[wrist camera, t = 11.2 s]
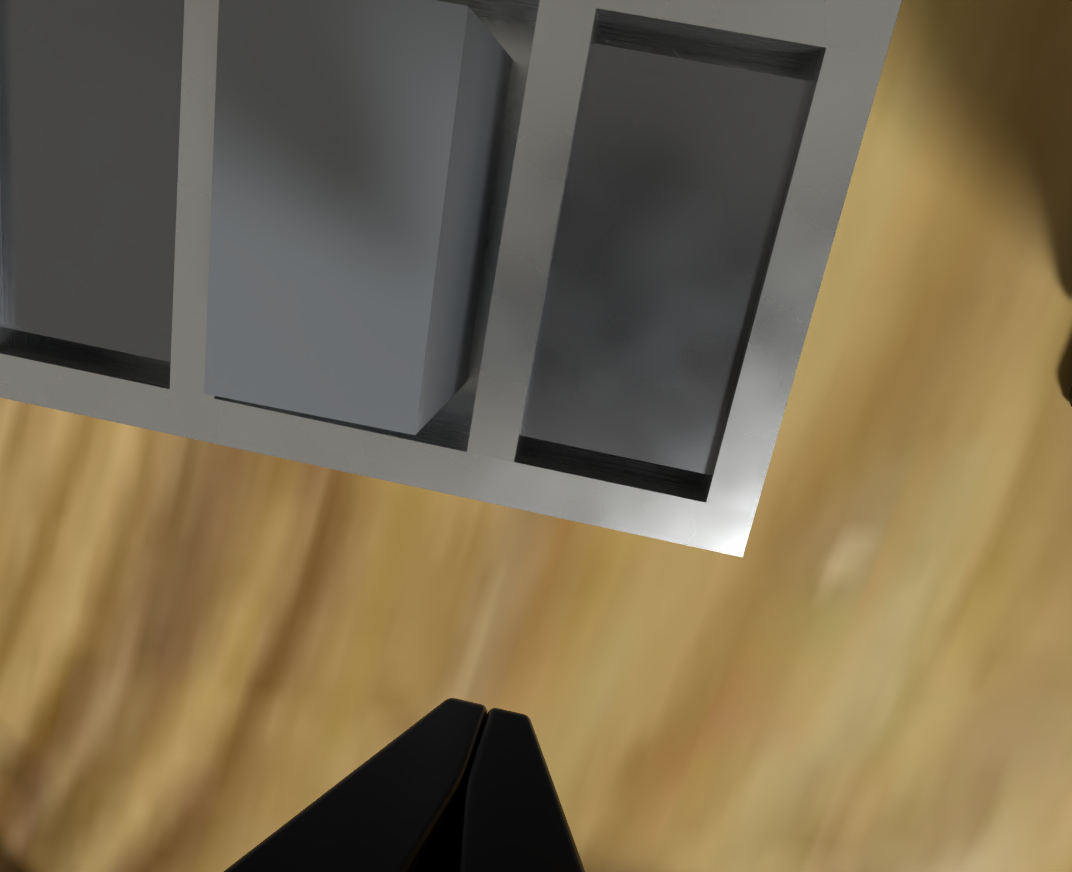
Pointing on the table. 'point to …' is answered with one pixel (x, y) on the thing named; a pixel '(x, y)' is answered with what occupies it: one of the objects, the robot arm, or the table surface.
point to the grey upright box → (350, 204)
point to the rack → (510, 255)
